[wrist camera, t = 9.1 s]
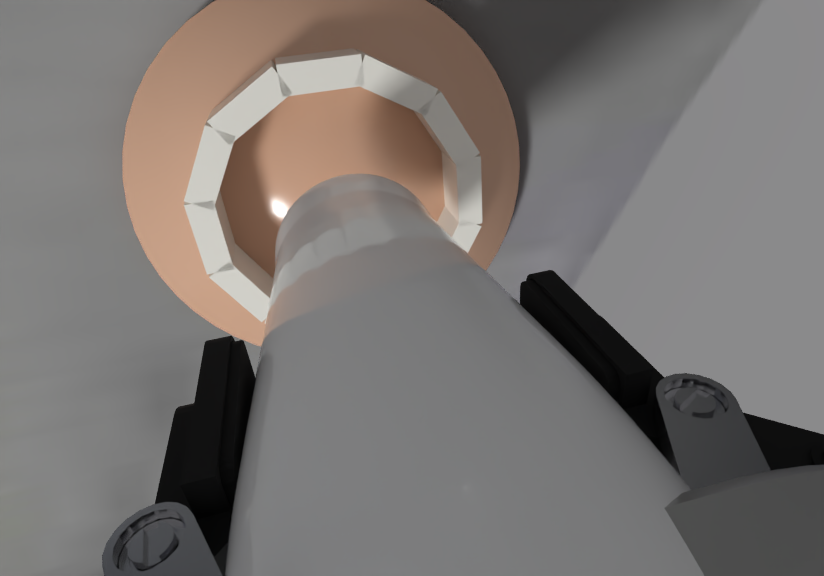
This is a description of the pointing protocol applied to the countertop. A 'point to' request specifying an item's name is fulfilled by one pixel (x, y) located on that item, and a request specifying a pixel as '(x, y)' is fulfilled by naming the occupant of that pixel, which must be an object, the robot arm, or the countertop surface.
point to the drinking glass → (430, 418)
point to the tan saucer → (308, 136)
